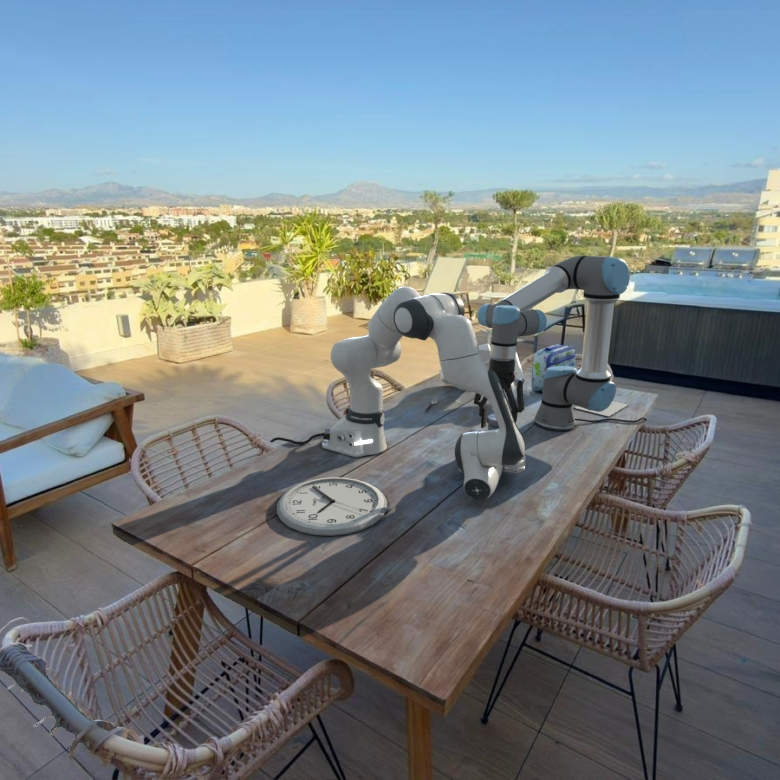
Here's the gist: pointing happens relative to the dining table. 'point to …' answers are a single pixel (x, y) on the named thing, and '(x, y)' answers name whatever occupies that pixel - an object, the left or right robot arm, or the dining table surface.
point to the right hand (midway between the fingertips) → (496, 429)
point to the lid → (492, 420)
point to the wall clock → (331, 506)
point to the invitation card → (609, 411)
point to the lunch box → (550, 362)
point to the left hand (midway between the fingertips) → (495, 448)
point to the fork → (432, 403)
